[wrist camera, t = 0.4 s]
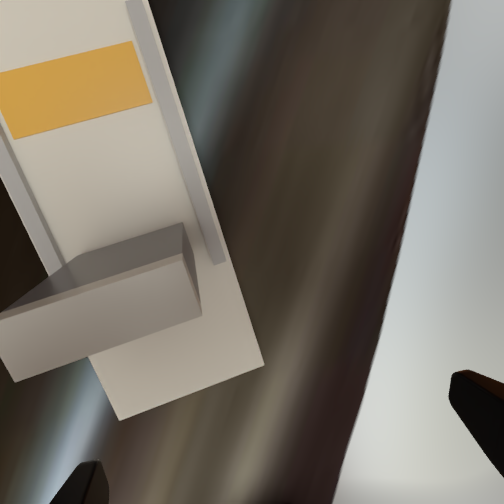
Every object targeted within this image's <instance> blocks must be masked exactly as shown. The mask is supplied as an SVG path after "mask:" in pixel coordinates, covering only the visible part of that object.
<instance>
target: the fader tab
mask: <svg viewBox="0 0 504 504" xmlns="http://www.w3.org/2000/svg"><path fill="white" fill-rule="evenodd" d="M200 316H202V309H201V301H200V294H199V287H198V280H197V273H196V266H195V259H194V253H193V250H192V247H191V245H190V242H189V239H188V236H187V233H186V230H185V228H184V225H183V222H181V223H178V224H175V225H172V226H169V227H166V228H162V229H159V230H156V231H153V232H150V233H147V234H144V235H140V236H137V237H134V238H131V239H128V240H125V241H122V242H118V243H115V244H112V245H109V246H106V247H103V248H99V249H96V250H93V251H90V252H87V253H84V254H81V255H77V256H76V257H75V258H73V259H72V260H71V261H69V262H68V263H67V264H65V265H64V266H63V267H61V268H60V269H58V270H57V271H56V272H54V273H53V274H52V275H50V276H49V277H48V278H46V279H45V280H44V281H42V282H41V283H40V284H38V285H37V286H36V287H34V288H33V289H32V290H30V291H29V292H28V293H26V294H25V295H24V296H22V297H21V298H20V299H18V300H17V301H16V302H14V303H13V304H12V305H10V306H9V307H8V308H6V309H5V310H4V311H2V312H1V313H0V357H1V359H2V361H3V362H4V364H5V366H6V368H7V369H8V371H9V373H10V375H11V376H12V378H13V380H14V382H18V381H21V380H23V379H26V378H29V377H32V376H35V375H37V374H40V373H43V372H46V371H49V370H51V369H54V368H57V367H60V366H63V365H65V364H68V363H71V362H74V361H77V360H80V359H82V358H85V357H88V356H91V355H94V354H96V353H99V352H102V351H105V350H108V349H110V348H113V347H116V346H119V345H122V344H125V343H127V342H130V341H133V340H136V339H139V338H141V337H144V336H147V335H150V334H153V333H155V332H158V331H161V330H164V329H167V328H169V327H172V326H175V325H178V324H181V323H184V322H186V321H189V320H192V319H195V318H198V317H200Z"/></svg>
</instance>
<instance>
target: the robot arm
mask: <svg viewBox="0 0 504 504" xmlns="http://www.w3.org/2000/svg"><path fill="white" fill-rule="evenodd" d="M449 400H450V403H451V405H452V407H453V409H454V410H455V411H456V412H457V414H458V416H459V417H460V418H461V420H462V421H463V423H464V424H465V426H466V427H467V428H468V430H469V431H470V433H471V434H472V436H473V437H474V438H475V440H476V441H477V443H478V444H479V446H480V447H481V448H482V450H483V452H484V453H485V454H486V456H487V457H488V458H489V460H490V461H491V463H492V464H493V465H494V466H495V468H496V469H497V470H498V471H499V473H500V474H501V475H502V476H503V477H504V383H501V382H499V381H496V380H494V379H491V378H489V377H486V376H484V375H481V374H479V373H476V372H474V371H471V370H462V371H458V372H455V373H453V374H452V377H451V383H450V389H449ZM49 504H109V484H108V481H107V478H106V475H105V472H104V469H103V466H102V463H101V461H100V460H98V459H95V460H91V461H87V462H83V463H80V464H79V465H78V466H77V467H76V468H75V470H74V471H73V472H72V474H71V475H70V476H69V478H68V479H67V480H66V482H65V483H64V484H63V486H62V487H61V488H60V490H59V491H58V492H57V494H56V495H55V497H54V498H53V499H52V501H51V502H50V503H49Z"/></svg>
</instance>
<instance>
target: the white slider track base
mask: <svg viewBox="0 0 504 504" xmlns="http://www.w3.org/2000/svg"><path fill="white" fill-rule="evenodd" d="M0 177H1V179H2V181H3V183H4V185H5V187H6V189H7V191H8V193H9V195H10V197H11V199H12V201H13V203H14V205H15V207H16V209H17V212H18V214H19V216H20V218H21V220H22V222H23V224H24V226H25V228H26V230H27V232H28V234H29V236H30V238H31V240H32V242H33V244H34V246H35V249H36V251H37V253H38V255H39V257H40V259H41V261H42V263H43V265H44V267H45V269H46V271H47V273H48V275H49V276H50V275H52V274H53V273H54V272H56V271H57V270H58V269H60V268H61V267H63V266H64V265H65V264H67V263H68V262H69V261H71V260H72V259H73V258H75V257H76V256H77V255H81V254H84V253H87V252H90V251H93V250H96V249H99V248H103V247H106V246H109V245H112V244H115V243H118V242H122V241H125V240H128V239H131V238H134V237H137V236H140V235H144V234H147V233H150V232H153V231H156V230H159V229H162V228H166V227H169V226H172V225H175V224H178V223H181V222H183V225H184V228H185V230H186V233H187V236H188V239H189V242H190V245H191V247H192V250H193V253H194V259H195V266H196V273H197V280H198V287H199V294H200V301H201V309H202V316H200V317H198V318H195V319H192V320H189V321H186V322H184V323H181V324H178V325H175V326H172V327H169V328H167V329H164V330H161V331H158V332H155V333H153V334H150V335H147V336H144V337H141V338H139V339H136V340H133V341H130V342H127V343H125V344H122V345H119V346H116V347H113V348H110V349H108V350H105V351H102V352H99V353H96V354H94V355H91V356H88V357H89V359H90V361H91V364H92V366H93V368H94V370H95V372H96V374H97V376H98V378H99V380H100V382H101V384H102V386H103V388H104V390H105V392H106V394H107V396H108V398H109V401H110V403H111V405H112V407H113V409H114V411H115V413H116V415H117V417H118V419H119V421H120V420H123V419H126V418H128V417H131V416H133V415H136V414H139V413H141V412H144V411H146V410H149V409H152V408H154V407H157V406H159V405H162V404H165V403H167V402H170V401H172V400H175V399H178V398H180V397H183V396H185V395H188V394H191V393H193V392H196V391H199V390H201V389H204V388H206V387H209V386H212V385H214V384H217V383H219V382H222V381H225V380H227V379H230V378H232V377H235V376H238V375H240V374H243V373H245V372H248V371H251V370H253V369H256V368H258V367H261V366H264V362H263V359H262V356H261V352H260V349H259V346H258V343H257V340H256V337H255V334H254V331H253V327H252V324H251V321H250V318H249V315H248V312H247V309H246V306H245V302H244V299H243V296H242V293H241V290H240V287H239V284H238V281H237V278H236V274H235V271H234V268H233V265H232V262H231V259H230V256H229V253H228V249H227V246H226V243H225V240H224V237H223V234H222V231H221V228H220V224H219V221H218V218H217V215H216V212H215V209H214V206H213V203H212V199H211V196H210V193H209V190H208V187H207V184H206V181H205V178H204V175H203V171H202V168H201V165H200V162H199V159H198V156H197V153H196V150H195V146H194V143H193V140H192V137H191V134H190V131H189V128H188V125H187V121H186V118H185V115H184V112H183V109H182V106H181V103H180V100H179V96H178V93H177V90H176V87H175V84H174V81H173V78H172V75H171V72H170V68H169V65H168V62H167V59H166V56H165V53H164V50H163V47H162V43H161V40H160V37H159V34H158V31H157V28H156V25H155V22H154V18H153V15H152V12H151V9H150V6H149V3H148V0H0Z"/></svg>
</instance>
